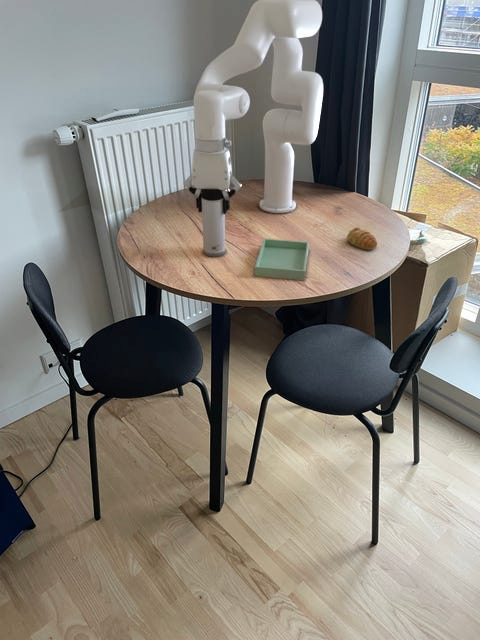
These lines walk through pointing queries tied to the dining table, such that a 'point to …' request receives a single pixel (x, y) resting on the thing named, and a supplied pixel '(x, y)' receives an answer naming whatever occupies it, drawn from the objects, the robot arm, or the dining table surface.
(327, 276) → the dining table surface
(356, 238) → the pastry
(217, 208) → the travel mug
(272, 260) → the tray
